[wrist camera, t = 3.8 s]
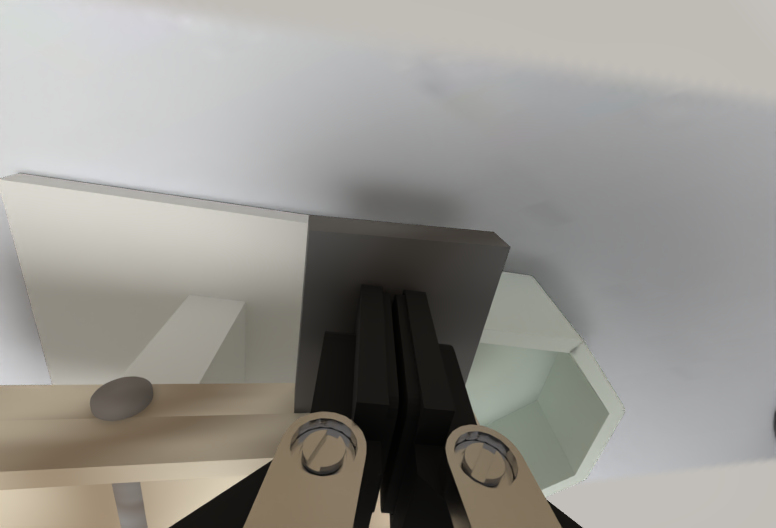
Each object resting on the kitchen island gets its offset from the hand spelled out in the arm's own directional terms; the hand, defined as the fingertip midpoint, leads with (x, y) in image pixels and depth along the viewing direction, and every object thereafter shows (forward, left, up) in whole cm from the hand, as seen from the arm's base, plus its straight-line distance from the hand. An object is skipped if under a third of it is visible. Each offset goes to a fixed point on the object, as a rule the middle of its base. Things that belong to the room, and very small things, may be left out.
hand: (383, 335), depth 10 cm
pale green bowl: (-5, +6, -8) cm, 11 cm away
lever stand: (+7, +6, -8) cm, 12 cm away
